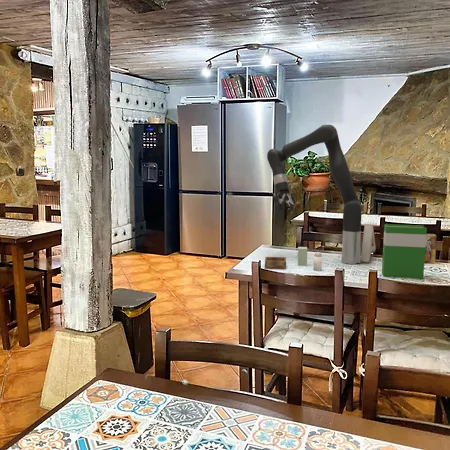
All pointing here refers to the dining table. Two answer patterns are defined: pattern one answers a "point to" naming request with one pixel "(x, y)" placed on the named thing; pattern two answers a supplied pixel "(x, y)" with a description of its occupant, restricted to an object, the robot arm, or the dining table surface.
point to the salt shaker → (318, 261)
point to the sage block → (302, 256)
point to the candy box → (430, 248)
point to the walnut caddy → (275, 262)
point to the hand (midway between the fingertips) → (286, 211)
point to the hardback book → (404, 251)
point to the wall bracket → (367, 243)
